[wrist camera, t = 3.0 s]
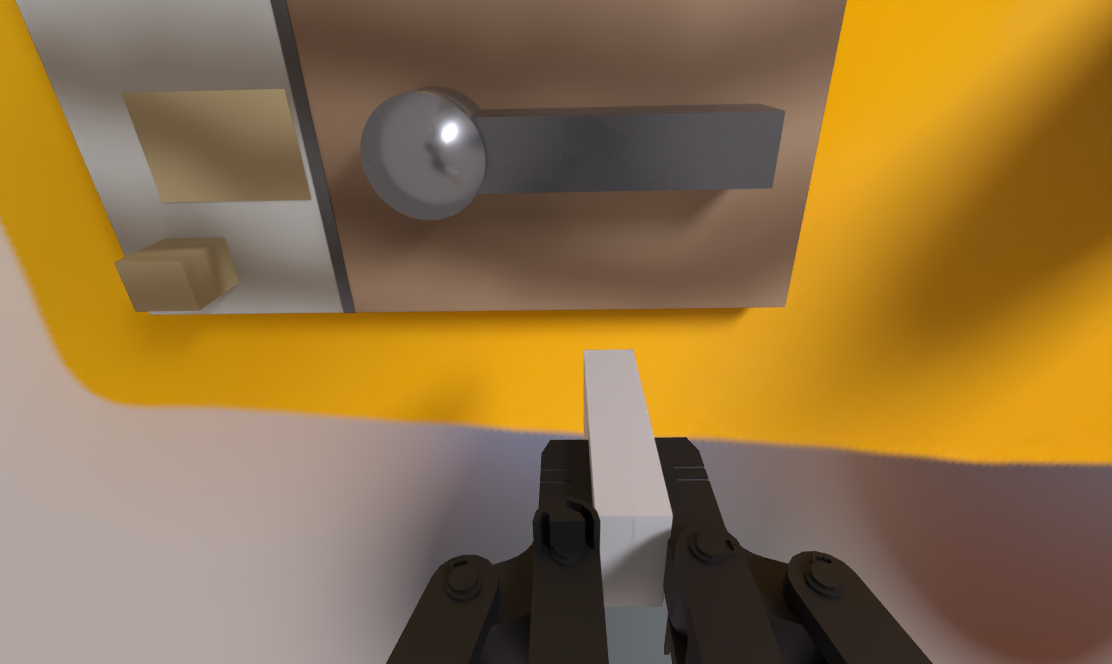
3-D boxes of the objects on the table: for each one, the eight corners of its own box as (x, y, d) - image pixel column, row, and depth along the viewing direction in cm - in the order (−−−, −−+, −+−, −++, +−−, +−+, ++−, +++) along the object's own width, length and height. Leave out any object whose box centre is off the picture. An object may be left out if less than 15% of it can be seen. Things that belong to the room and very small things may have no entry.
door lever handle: (396, 200, 21) (372, 221, 18) (377, 87, 19) (348, 93, 16) (746, 194, 20) (771, 214, 18) (763, 78, 18) (794, 83, 16)
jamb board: (-59, -311, 16) (-285, -440, 12) (886, -352, 15) (1009, -506, 11) (179, 296, 25) (101, 345, 21) (769, 288, 25) (811, 338, 20)
